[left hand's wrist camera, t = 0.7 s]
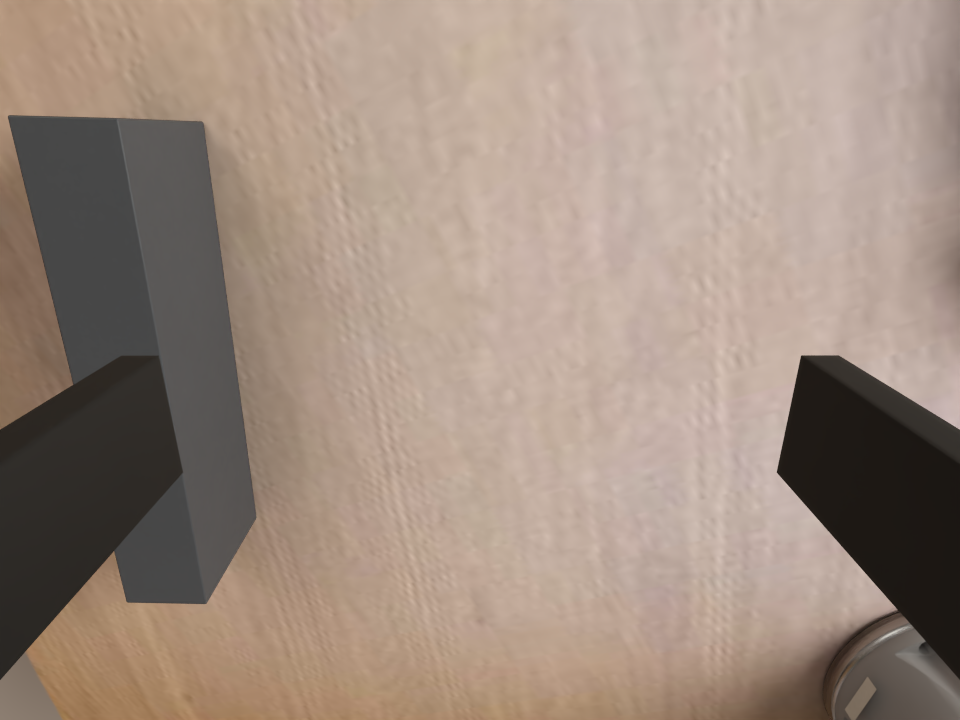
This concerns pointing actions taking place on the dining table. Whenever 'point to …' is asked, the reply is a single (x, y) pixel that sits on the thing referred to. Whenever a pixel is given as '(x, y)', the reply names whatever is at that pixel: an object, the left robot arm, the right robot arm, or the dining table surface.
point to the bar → (148, 320)
